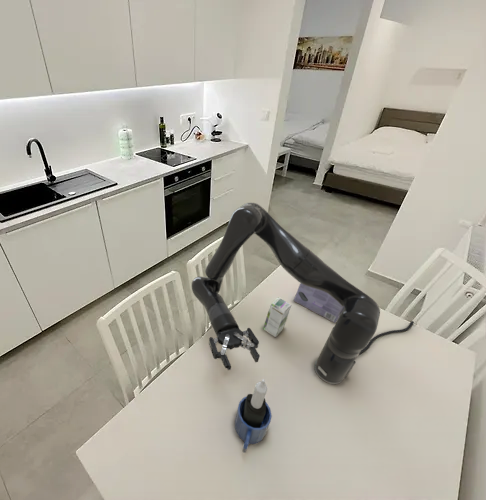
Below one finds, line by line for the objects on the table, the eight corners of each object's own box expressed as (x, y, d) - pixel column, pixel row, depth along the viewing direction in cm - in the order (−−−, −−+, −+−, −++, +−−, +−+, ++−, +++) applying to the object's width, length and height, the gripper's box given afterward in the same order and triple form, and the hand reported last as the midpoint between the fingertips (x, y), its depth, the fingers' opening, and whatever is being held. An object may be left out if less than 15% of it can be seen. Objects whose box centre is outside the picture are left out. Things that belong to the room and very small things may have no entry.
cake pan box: (342, 318, 117) (357, 287, 106) (337, 325, 114) (353, 294, 103) (297, 295, 127) (308, 264, 116) (292, 301, 124) (303, 270, 113)
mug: (239, 405, 88) (242, 390, 83) (268, 418, 86) (274, 403, 80) (227, 448, 79) (230, 434, 74) (259, 463, 76) (265, 450, 71)
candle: (258, 436, 81) (275, 392, 66) (240, 432, 82) (252, 388, 67) (258, 417, 85) (274, 372, 70) (241, 413, 86) (253, 368, 71)
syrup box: (270, 321, 115) (277, 296, 106) (283, 329, 112) (292, 304, 103) (262, 329, 112) (269, 304, 103) (276, 338, 108) (284, 313, 100)
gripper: (202, 317, 89) (221, 363, 76) (243, 308, 92) (268, 350, 80) (201, 332, 93) (219, 378, 81) (240, 323, 96) (264, 365, 84)
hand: (243, 364), depth 80 cm, fingers open, 8 cm apart
